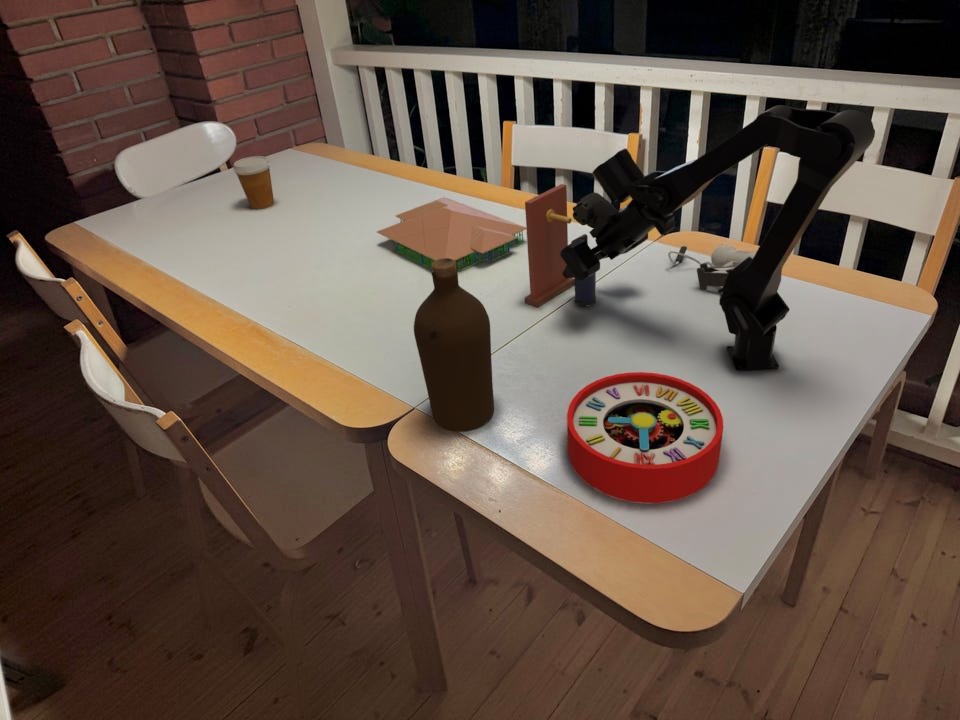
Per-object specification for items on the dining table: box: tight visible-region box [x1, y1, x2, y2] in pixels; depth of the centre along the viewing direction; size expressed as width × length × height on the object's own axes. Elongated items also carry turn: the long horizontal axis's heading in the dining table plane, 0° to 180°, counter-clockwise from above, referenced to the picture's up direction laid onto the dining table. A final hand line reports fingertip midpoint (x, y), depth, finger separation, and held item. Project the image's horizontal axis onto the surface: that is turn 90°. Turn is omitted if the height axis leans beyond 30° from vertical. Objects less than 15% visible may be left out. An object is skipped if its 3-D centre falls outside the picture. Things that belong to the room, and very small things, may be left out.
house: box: [376, 196, 527, 273], centre depth 154 cm, size 23×33×8 cm
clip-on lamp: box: [667, 243, 757, 290], centre depth 132 cm, size 12×6×18 cm
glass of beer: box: [232, 155, 275, 210], centre depth 185 cm, size 10×10×12 cm
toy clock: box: [566, 371, 724, 504], centre depth 93 cm, size 20×6×20 cm
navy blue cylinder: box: [570, 233, 597, 307], centre depth 125 cm, size 6×4×13 cm
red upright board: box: [524, 183, 575, 308], centre depth 126 cm, size 7×11×20 cm, turn 136°
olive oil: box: [413, 258, 495, 433], centre depth 98 cm, size 11×11×25 cm
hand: (578, 266), depth 126 cm, fingers open, 8 cm apart
